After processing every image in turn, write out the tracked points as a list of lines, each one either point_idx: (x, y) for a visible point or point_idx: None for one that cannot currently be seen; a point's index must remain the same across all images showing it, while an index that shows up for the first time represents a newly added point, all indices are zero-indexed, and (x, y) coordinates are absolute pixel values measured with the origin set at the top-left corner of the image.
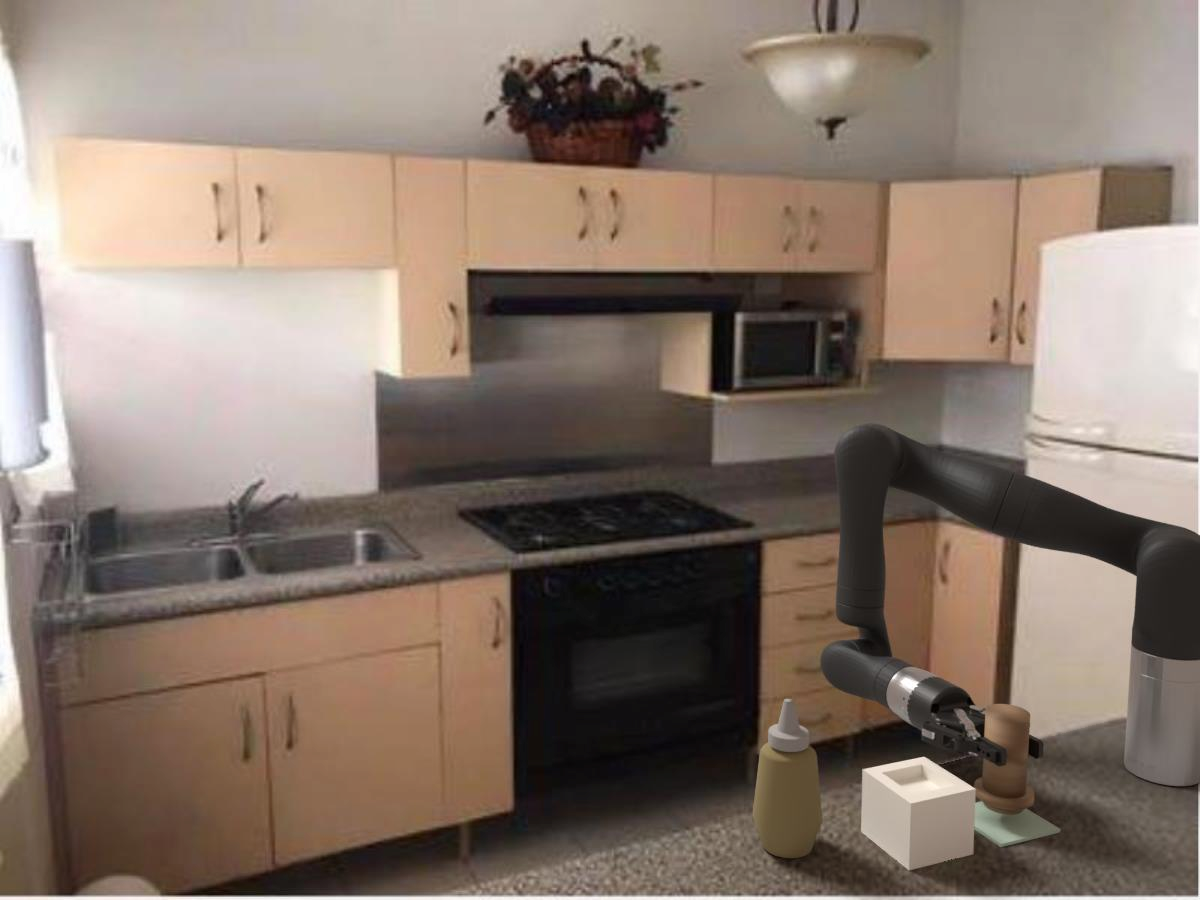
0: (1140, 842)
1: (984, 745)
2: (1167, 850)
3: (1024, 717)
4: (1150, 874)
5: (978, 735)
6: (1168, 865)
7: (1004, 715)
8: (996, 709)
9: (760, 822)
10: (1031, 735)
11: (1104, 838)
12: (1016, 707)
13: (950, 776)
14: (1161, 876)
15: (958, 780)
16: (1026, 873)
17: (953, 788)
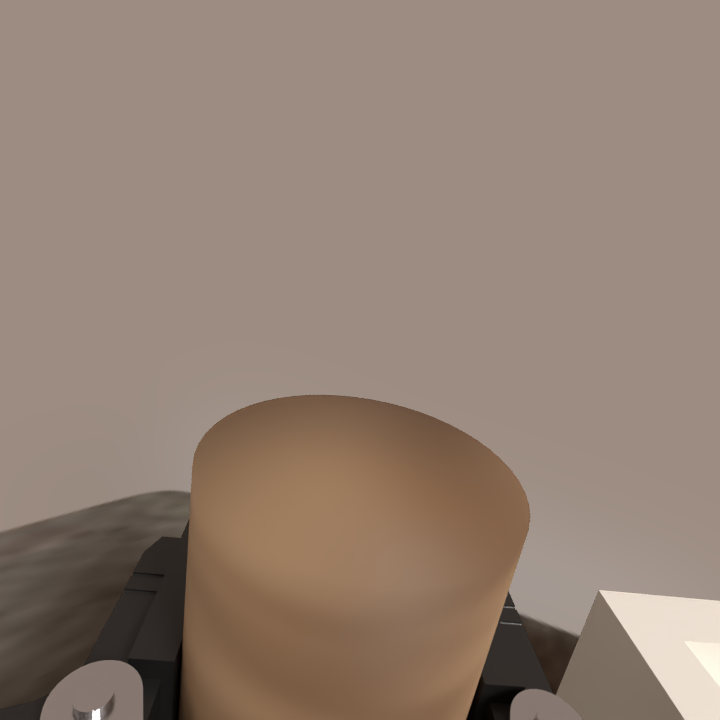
0: (22, 602)
1: (515, 640)
2: (23, 556)
3: (323, 403)
4: (177, 528)
5: (530, 705)
6: (105, 528)
7: (426, 447)
8: (420, 511)
9: None
10: (167, 570)
11: (74, 656)
12: (226, 470)
13: (701, 710)
14: (166, 517)
15: (662, 664)
16: None
17: (692, 624)
